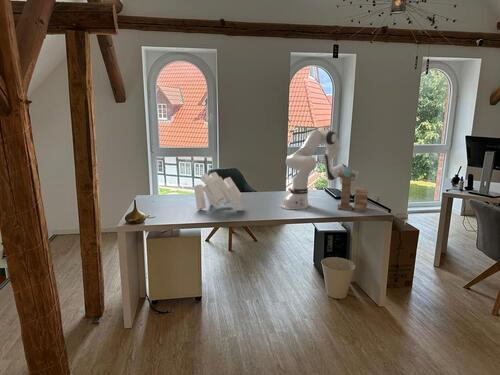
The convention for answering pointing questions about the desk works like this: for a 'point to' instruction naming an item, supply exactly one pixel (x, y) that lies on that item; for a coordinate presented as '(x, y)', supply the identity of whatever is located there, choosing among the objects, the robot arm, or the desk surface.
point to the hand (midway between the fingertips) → (346, 170)
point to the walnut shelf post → (345, 192)
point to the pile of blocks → (217, 191)
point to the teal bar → (346, 172)
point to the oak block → (360, 199)
